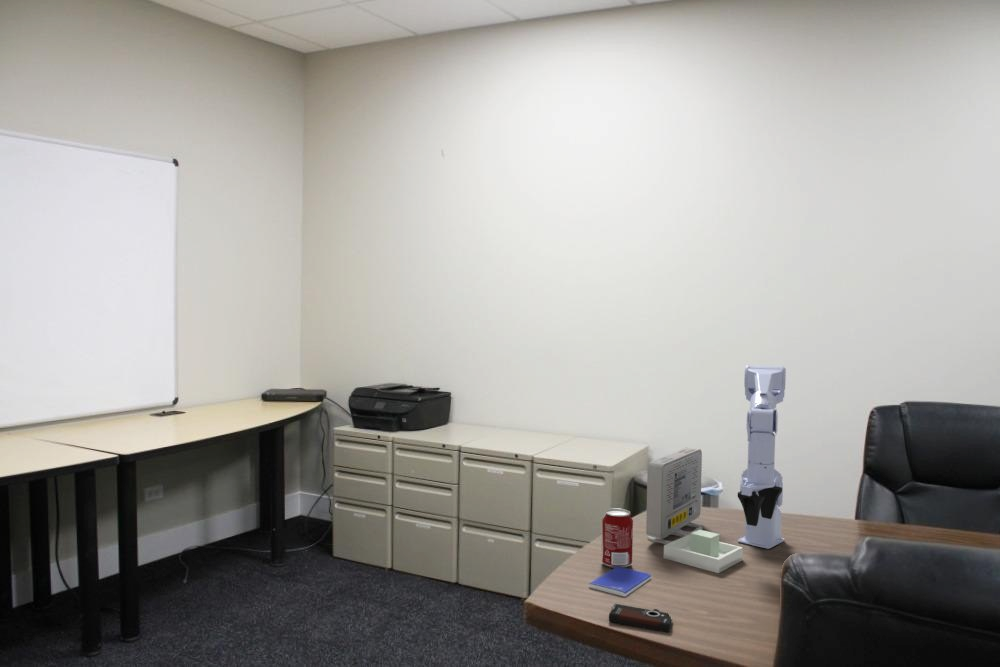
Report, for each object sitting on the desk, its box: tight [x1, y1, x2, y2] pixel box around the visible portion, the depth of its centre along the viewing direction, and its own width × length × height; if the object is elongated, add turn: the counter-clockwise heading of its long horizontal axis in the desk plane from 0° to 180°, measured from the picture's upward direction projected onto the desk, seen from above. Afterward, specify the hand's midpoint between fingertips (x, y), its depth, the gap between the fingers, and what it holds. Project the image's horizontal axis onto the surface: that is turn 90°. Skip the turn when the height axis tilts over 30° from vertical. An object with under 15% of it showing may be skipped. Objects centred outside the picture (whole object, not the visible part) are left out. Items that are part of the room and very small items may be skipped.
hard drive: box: [588, 567, 652, 598], centre depth 161 cm, size 2×8×12 cm
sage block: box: [690, 529, 720, 558], centre depth 175 cm, size 4×5×5 cm
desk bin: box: [663, 534, 744, 574], centre depth 175 cm, size 12×14×3 cm
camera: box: [608, 603, 674, 633], centre depth 142 cm, size 6×3×11 cm
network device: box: [645, 447, 703, 545], centre depth 194 cm, size 26×9×20 cm, turn 144°
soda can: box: [601, 508, 634, 569], centre depth 171 cm, size 7×7×12 cm
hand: (759, 521), depth 173 cm, fingers open, 7 cm apart
